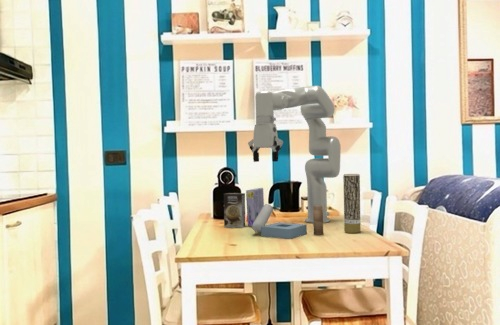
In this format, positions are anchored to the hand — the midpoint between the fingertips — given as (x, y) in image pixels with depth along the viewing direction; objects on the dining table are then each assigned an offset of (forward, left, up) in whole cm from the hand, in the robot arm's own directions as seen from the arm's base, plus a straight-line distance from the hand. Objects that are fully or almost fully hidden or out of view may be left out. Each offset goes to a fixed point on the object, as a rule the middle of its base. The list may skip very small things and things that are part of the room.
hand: (265, 161), depth 195 cm
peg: (-12, +18, -31) cm, 38 cm away
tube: (-7, -8, -28) cm, 30 cm away
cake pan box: (-23, -22, -32) cm, 45 cm away
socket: (-4, +6, -31) cm, 32 cm away
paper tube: (-24, +28, -31) cm, 48 cm away
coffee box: (-11, -26, -31) cm, 42 cm away
